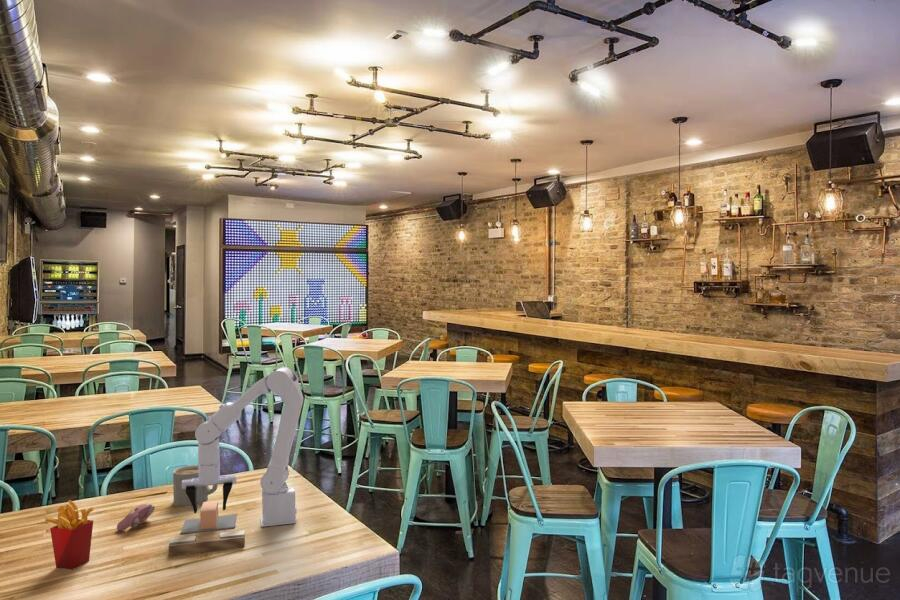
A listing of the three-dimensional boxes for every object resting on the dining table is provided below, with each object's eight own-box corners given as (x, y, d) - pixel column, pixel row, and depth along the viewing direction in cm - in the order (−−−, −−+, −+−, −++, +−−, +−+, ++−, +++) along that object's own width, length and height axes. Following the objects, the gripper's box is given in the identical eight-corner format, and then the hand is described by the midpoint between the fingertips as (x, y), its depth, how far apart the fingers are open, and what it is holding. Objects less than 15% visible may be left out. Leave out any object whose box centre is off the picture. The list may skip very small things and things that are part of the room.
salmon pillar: (218, 517, 177) (218, 500, 177) (216, 527, 169) (215, 509, 169) (203, 519, 176) (203, 501, 176) (200, 529, 168) (200, 511, 168)
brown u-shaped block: (244, 540, 161) (244, 529, 161) (244, 546, 157) (244, 535, 157) (171, 549, 156) (170, 538, 156) (168, 556, 152) (168, 544, 152)
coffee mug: (166, 505, 189) (166, 473, 189) (187, 494, 198) (186, 464, 198) (204, 508, 186) (204, 475, 186) (223, 497, 195) (223, 466, 195)
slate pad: (236, 515, 180) (236, 514, 180) (234, 528, 170) (234, 526, 170) (185, 521, 175) (185, 519, 175) (180, 534, 166) (180, 532, 166)
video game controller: (126, 538, 168) (136, 516, 167) (113, 529, 168) (123, 508, 168) (150, 524, 177) (160, 503, 177) (138, 516, 178) (147, 496, 177)
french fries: (95, 559, 151) (94, 499, 150) (67, 574, 142) (66, 511, 142) (66, 556, 153) (64, 497, 152) (36, 571, 144) (35, 508, 144)
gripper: (236, 457, 179) (237, 503, 180) (183, 461, 175) (184, 508, 175) (235, 463, 173) (236, 511, 173) (180, 468, 168) (181, 517, 169)
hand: (210, 510), depth 174 cm, fingers open, 7 cm apart
